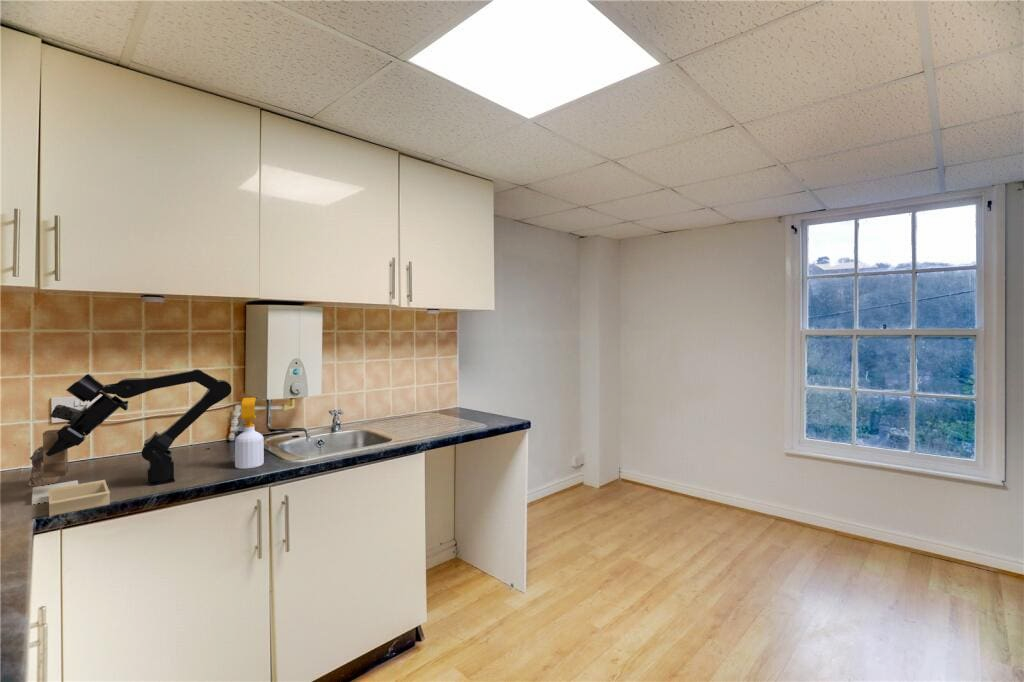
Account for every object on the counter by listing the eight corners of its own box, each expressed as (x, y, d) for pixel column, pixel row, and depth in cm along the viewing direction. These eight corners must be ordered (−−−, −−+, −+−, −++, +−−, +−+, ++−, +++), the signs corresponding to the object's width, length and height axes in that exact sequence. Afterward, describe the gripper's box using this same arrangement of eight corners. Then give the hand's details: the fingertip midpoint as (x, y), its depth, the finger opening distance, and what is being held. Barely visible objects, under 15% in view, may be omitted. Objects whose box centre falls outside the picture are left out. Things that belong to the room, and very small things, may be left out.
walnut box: (67, 471, 142) (67, 428, 142) (64, 475, 138) (64, 431, 138) (47, 474, 139) (46, 430, 139) (43, 478, 136) (42, 433, 135)
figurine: (33, 481, 153) (32, 444, 152) (62, 477, 156) (62, 441, 156) (24, 487, 146) (24, 449, 146) (55, 484, 150) (55, 446, 150)
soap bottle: (264, 461, 177) (264, 395, 177) (262, 467, 169) (261, 399, 168) (237, 463, 174) (236, 397, 173) (233, 470, 166) (232, 400, 165)
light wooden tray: (105, 492, 143) (105, 479, 143) (110, 505, 132) (110, 492, 132) (49, 502, 135) (48, 489, 135) (49, 517, 124) (49, 503, 124)
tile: (77, 484, 149) (77, 480, 149) (80, 496, 140) (80, 491, 140) (32, 492, 142) (32, 487, 142) (32, 505, 133) (31, 499, 132)
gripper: (78, 391, 148) (29, 430, 142) (66, 398, 133) (11, 443, 127) (111, 413, 153) (65, 452, 147) (103, 423, 138) (52, 467, 132)
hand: (49, 453), depth 138 cm, fingers closed on walnut box, 4 cm apart
